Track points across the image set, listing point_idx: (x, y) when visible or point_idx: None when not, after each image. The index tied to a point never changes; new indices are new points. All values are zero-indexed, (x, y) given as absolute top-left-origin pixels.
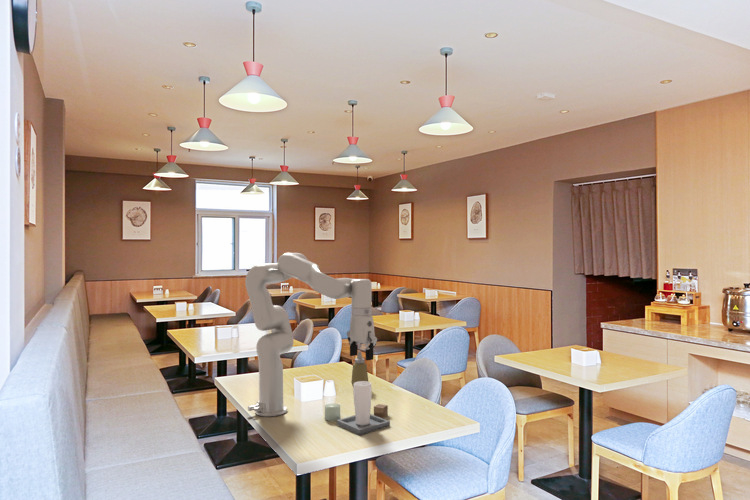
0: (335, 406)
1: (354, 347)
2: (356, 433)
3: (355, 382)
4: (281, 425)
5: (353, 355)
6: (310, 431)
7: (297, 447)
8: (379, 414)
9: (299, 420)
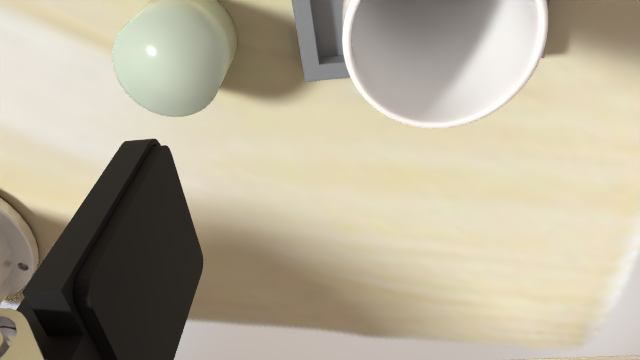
0: (189, 58)
1: (135, 321)
2: None
3: (360, 80)
4: None
5: (191, 221)
6: (318, 208)
7: (453, 307)
8: None
9: None
